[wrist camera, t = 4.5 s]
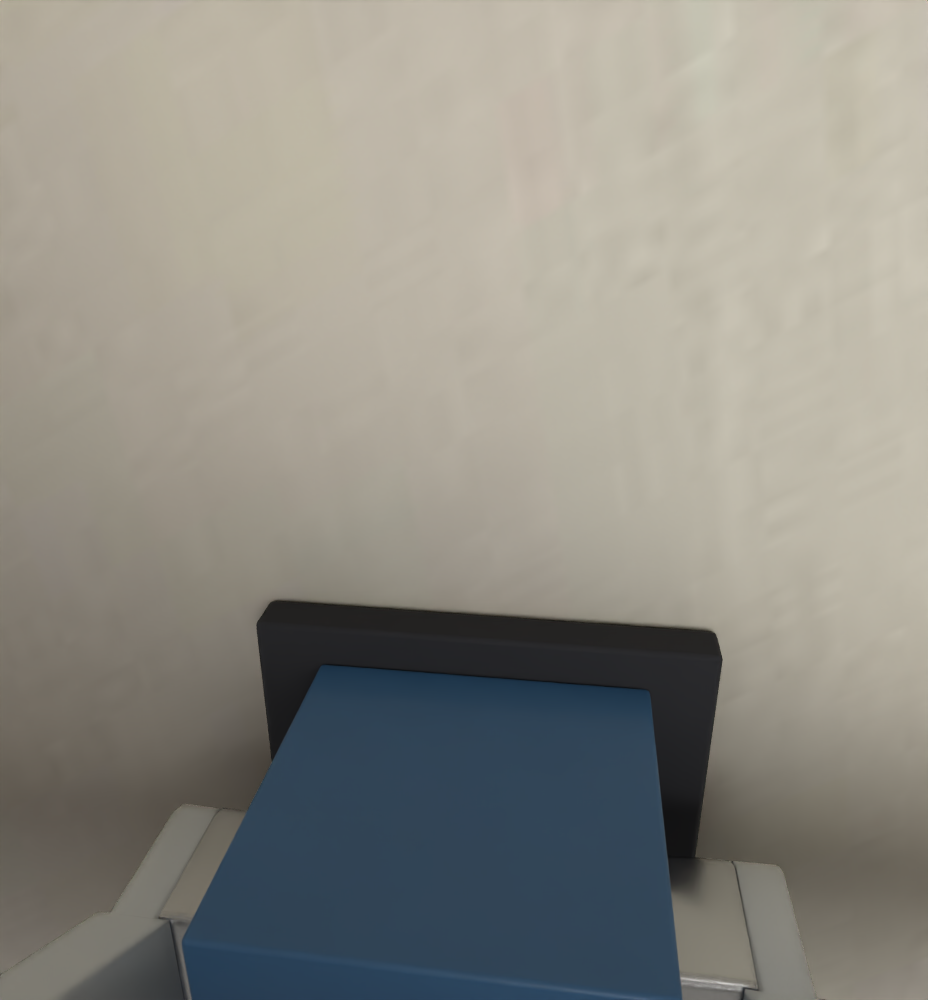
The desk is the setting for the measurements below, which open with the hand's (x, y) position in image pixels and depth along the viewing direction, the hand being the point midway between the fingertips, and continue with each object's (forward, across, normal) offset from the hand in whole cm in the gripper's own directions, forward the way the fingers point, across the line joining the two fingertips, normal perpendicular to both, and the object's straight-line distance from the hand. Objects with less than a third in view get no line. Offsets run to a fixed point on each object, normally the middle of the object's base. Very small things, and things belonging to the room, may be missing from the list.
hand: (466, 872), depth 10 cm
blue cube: (+1, 0, 0) cm, 1 cm away
